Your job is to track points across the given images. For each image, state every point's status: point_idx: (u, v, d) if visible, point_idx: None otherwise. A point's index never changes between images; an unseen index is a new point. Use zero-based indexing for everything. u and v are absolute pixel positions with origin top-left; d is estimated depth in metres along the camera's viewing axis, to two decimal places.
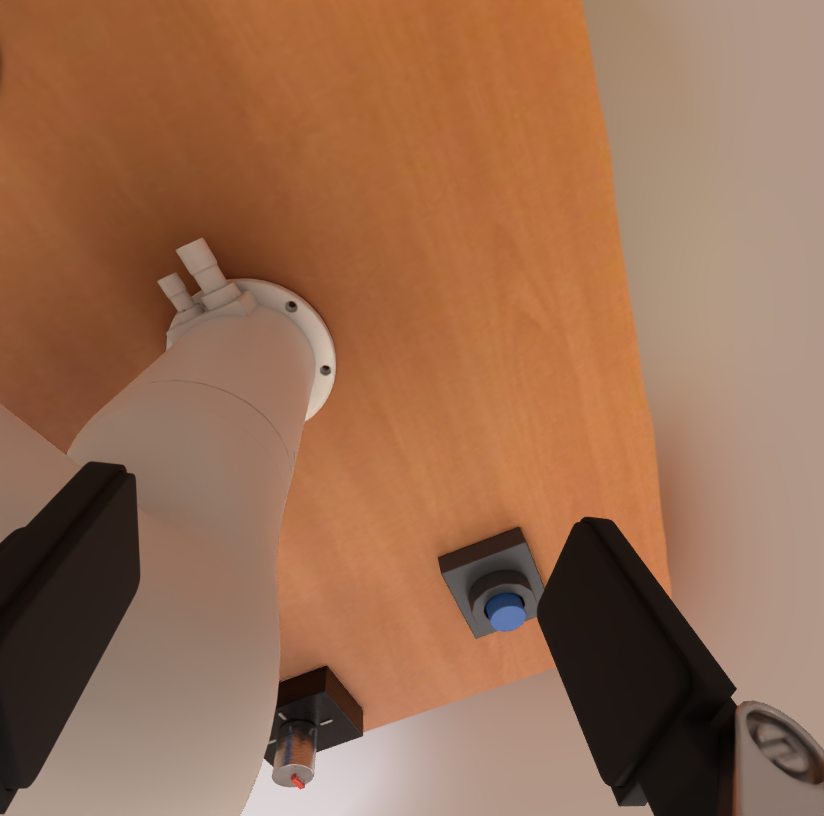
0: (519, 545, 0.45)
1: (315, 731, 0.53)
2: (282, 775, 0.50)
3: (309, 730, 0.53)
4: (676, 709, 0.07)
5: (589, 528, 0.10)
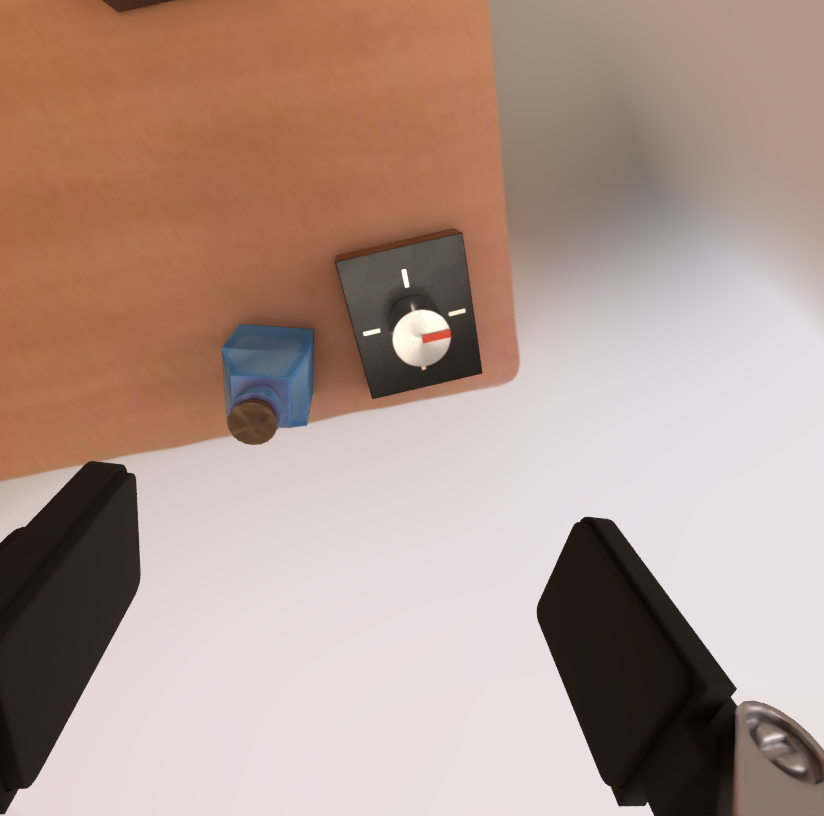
0: None
1: (412, 297, 0.37)
2: (414, 351, 0.34)
3: (400, 303, 0.36)
4: (676, 709, 0.07)
5: (589, 528, 0.10)
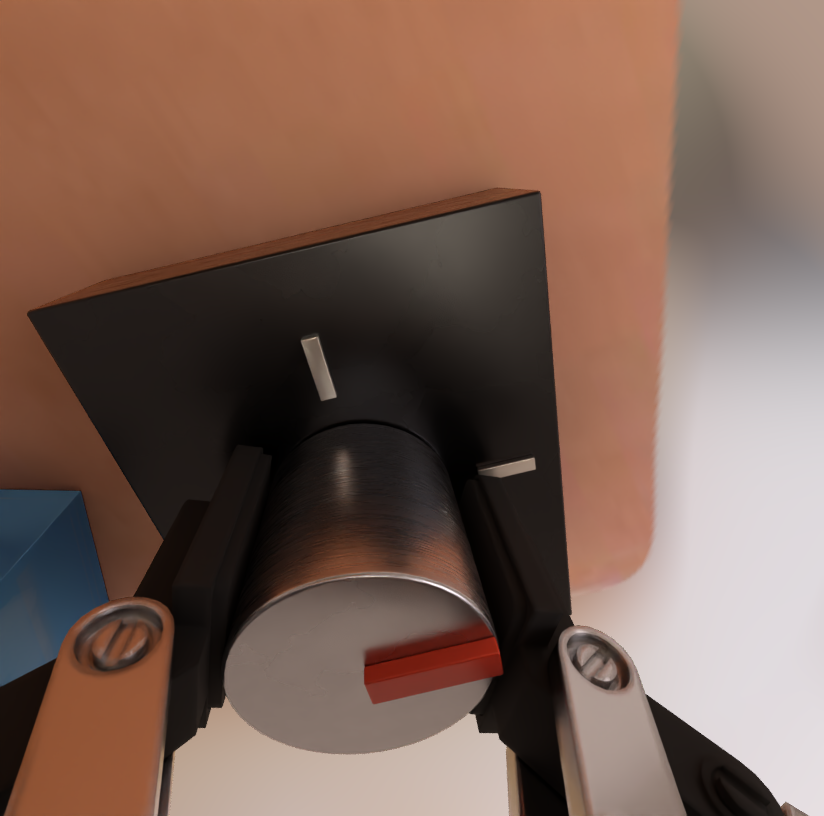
0: None
1: (347, 435, 0.10)
2: (334, 717, 0.08)
3: (301, 461, 0.10)
4: (514, 634, 0.08)
5: (477, 484, 0.10)
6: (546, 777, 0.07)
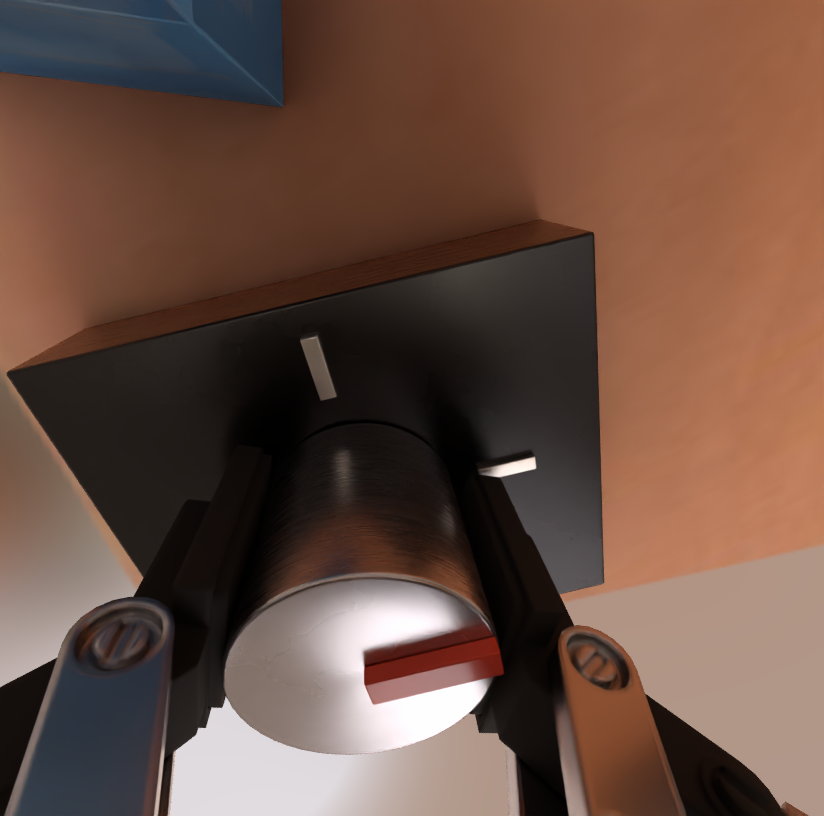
0: None
1: (347, 434, 0.10)
2: (335, 718, 0.08)
3: (300, 461, 0.10)
4: (514, 634, 0.08)
5: (476, 484, 0.10)
6: (546, 777, 0.07)
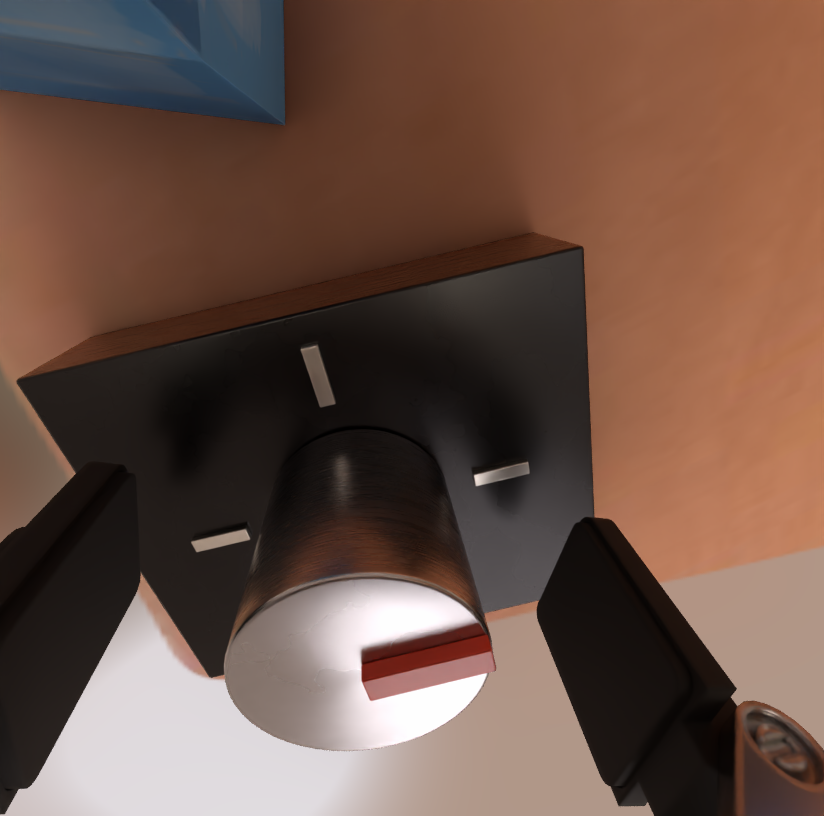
0: None
1: (345, 440, 0.10)
2: (333, 714, 0.08)
3: (300, 466, 0.10)
4: (676, 709, 0.07)
5: (589, 528, 0.10)
6: None
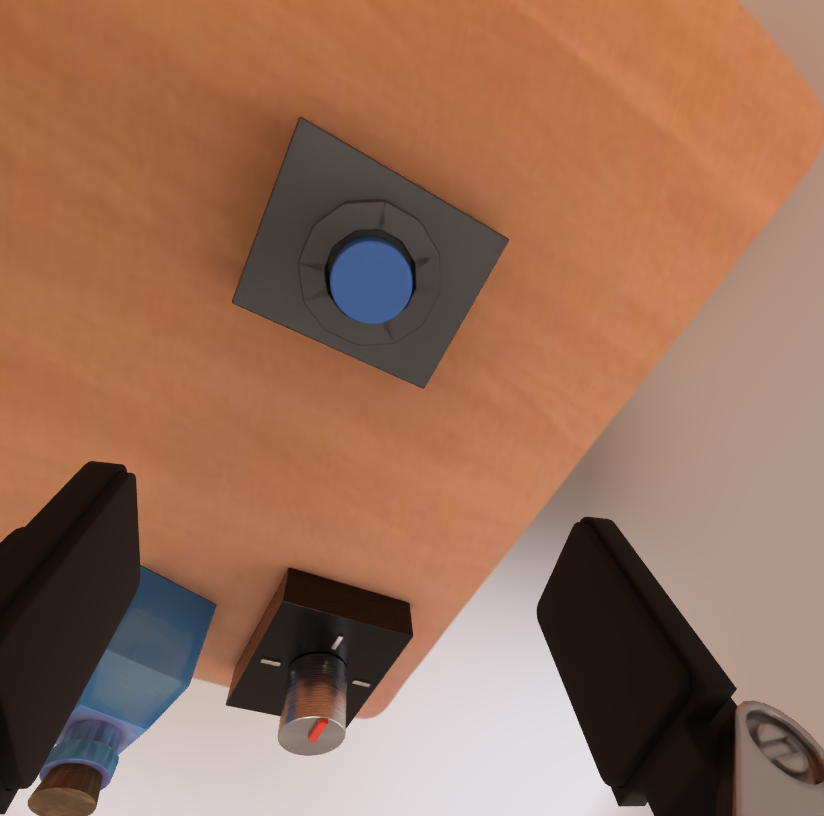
0: (297, 134, 0.20)
1: (289, 670, 0.34)
2: (319, 745, 0.31)
3: (286, 684, 0.34)
4: (676, 709, 0.07)
5: (589, 528, 0.10)
6: None
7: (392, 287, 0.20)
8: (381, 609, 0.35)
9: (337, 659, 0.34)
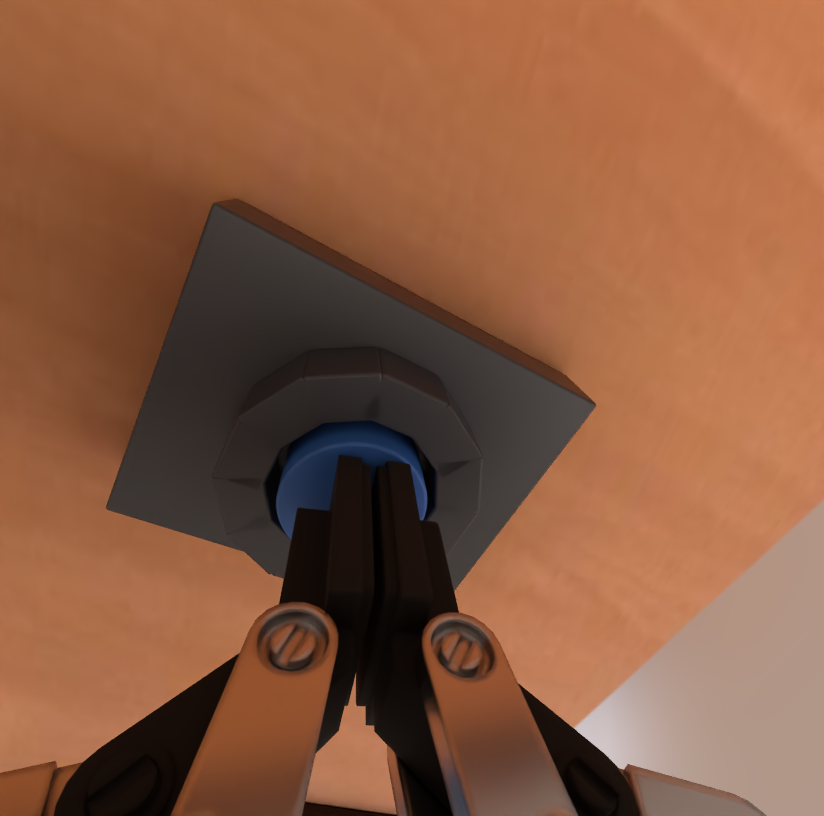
0: (208, 236, 0.10)
1: None
2: None
3: None
4: (387, 621, 0.07)
5: (384, 471, 0.10)
6: (430, 776, 0.07)
7: None
8: None
9: None
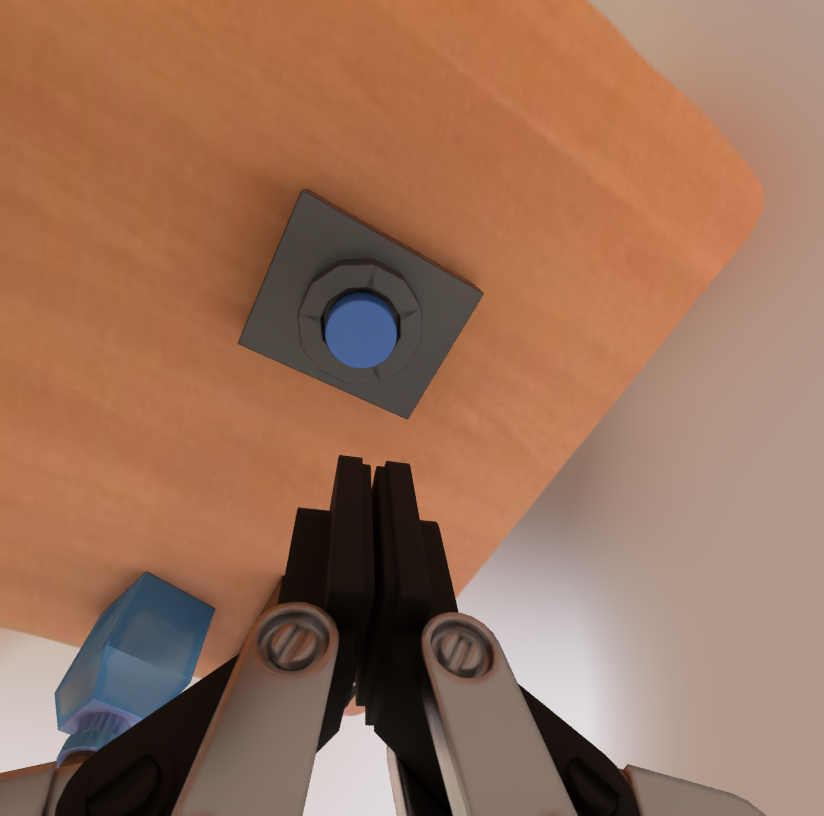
0: (298, 204, 0.23)
1: None
2: None
3: None
4: (387, 621, 0.07)
5: (384, 471, 0.10)
6: (430, 776, 0.07)
7: (379, 338, 0.23)
8: None
9: None
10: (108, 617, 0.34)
